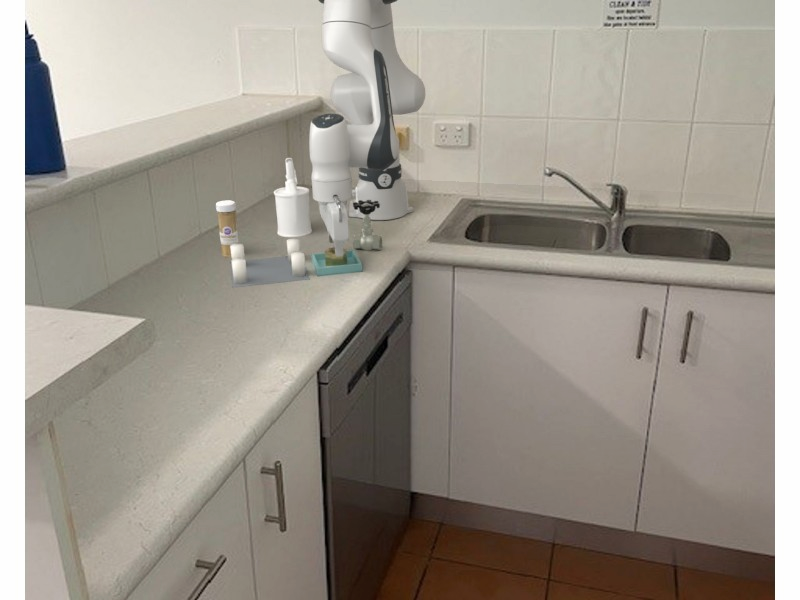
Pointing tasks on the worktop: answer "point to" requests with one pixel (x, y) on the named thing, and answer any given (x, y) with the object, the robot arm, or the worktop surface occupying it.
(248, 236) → the worktop surface
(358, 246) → the valve
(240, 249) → the spacer
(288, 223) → the white spouted canister
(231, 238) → the sprinkles bottle
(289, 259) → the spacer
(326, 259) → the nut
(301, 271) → the cylinder
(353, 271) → the tray
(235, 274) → the spacer
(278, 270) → the mat
